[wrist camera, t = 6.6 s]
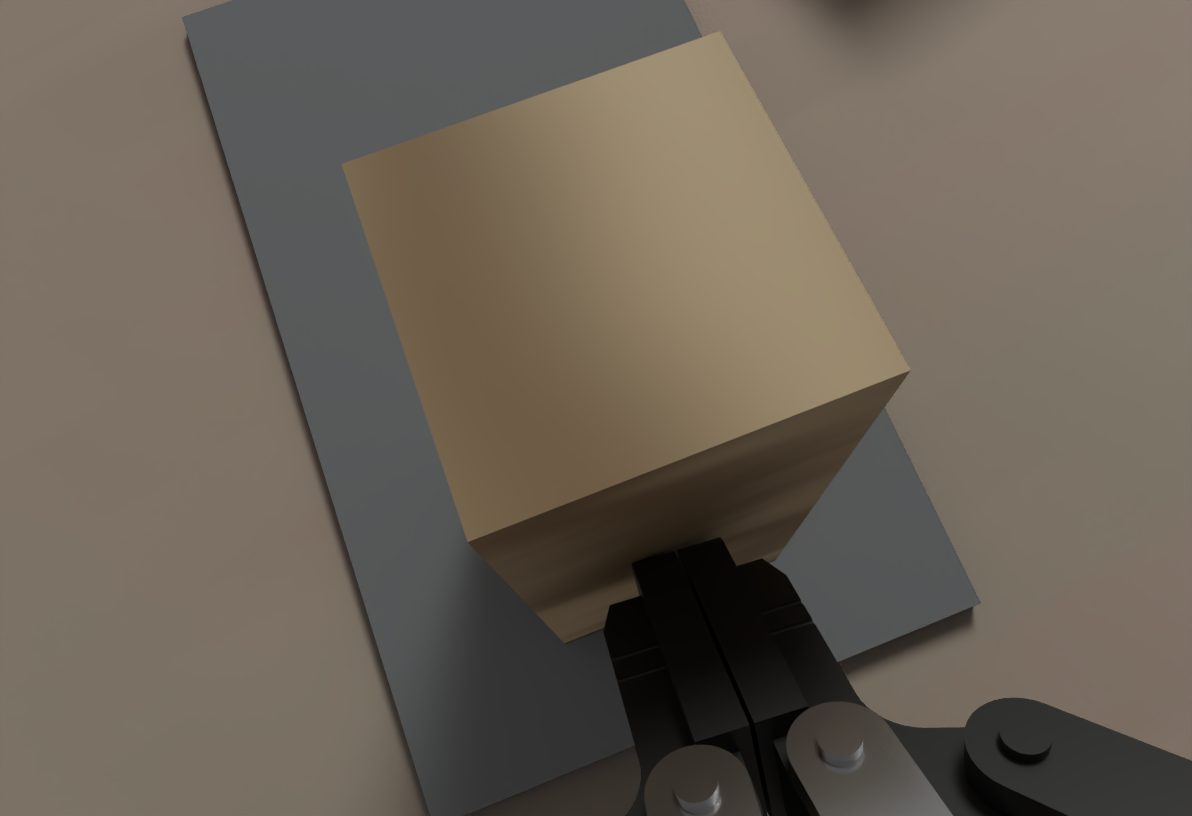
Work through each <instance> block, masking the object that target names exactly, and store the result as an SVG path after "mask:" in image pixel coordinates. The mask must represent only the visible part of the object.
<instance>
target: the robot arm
mask: <svg viewBox="0 0 1192 816" xmlns="http://www.w3.org/2000/svg"><path fill="white" fill-rule="evenodd" d="M677 555H678V557H677ZM677 555H676V553H675V552H674V551H673V552H669V553H666V554H663V555H659V556H656V557H653V558H650V559H646V560H643V561H640V562H636V563H633V564H632V570H633V574H634V578H635V581H636V585H637V589H638V593H639V596H638V597H635V598H631V599H628V600H625V601H621V602H618V603H615V604H612V605H610V606H609V610H608V614H607V618H606V623H605V627H604V631H603V633H604V636H605V640H606V643H607V647H608V651H609V654H610V658H611V661H612V665H613V669H614V672H615V676H616V679H617V683H618V687H619V690H620V694H621V697H622V701H623V705H624V708H625V712H626V715H627V719H628V722H629V726H630V730H631V733H632V737H633V740H634V744H635V748H636V751H637V755H638V758H639V762H640V767H641V784H640V789H639V792H638V795H637V798H636V800H635V802H634V804H633V806H632V807H631V809H630V810H629V812H628V813H627V815H626V816H768V815H769V816H1192V761H1190V760H1188V759H1185V758H1183V757H1180V756H1178V755H1175V754H1172V753H1170V752H1167V751H1165V750H1162V749H1160V748H1157V747H1154V746H1152V745H1149V744H1147V743H1144V742H1142V741H1139V740H1137V739H1134V738H1131V737H1129V736H1126V735H1124V734H1121V733H1119V732H1116V731H1113V730H1111V729H1108V728H1106V727H1103V726H1101V725H1098V724H1095V723H1093V722H1090V721H1088V720H1085V719H1083V718H1080V717H1077V716H1075V715H1072V714H1070V713H1067V712H1065V711H1062V710H1059V709H1057V708H1054V707H1052V706H1049V705H1047V704H1044V703H1041V702H1038V701H1035V700H1029V699H1024V698H1003V699H998V700H994V701H991V702H988V703H986V704H984V705H983V706H981V707H979V708H978V709H977V710H976V711H975V712H973V713H972V715H971V716H970V718H969V719H968V721H967V724H966V726H965V727H962V728H916V727H909V726H904V725H900V724H897V723H893V722H891V721H889V720H886V719H884V718H882V717H881V716H879V715H878V714H877V713H875V712H873V711H872V710H870V709H869V708H868V707H867V706H866V705H865V704H864V703H863V702H862V701H861V700H860V699H859V697H858V696H857V694H856V693H855V691H854V689H853V688H852V686H851V684H850V683H849V681H848V679H847V677H846V676H845V674H844V672H843V671H842V669H841V667H840V666H839V664H838V662H837V660H836V659H835V657H834V655H833V654H832V652H831V650H830V648H829V647H828V645H827V643H826V642H825V640H824V638H823V636H822V635H821V633H820V631H819V630H818V628H817V626H816V624H815V623H813V621H812V618H811V616H810V614H809V613H808V611H807V609H806V607H805V606H804V604H802V602H801V599H800V597H799V595H798V594H797V592H796V590H795V589H794V587H793V585H792V583H791V582H790V580H789V578H788V577H787V575H786V574H784V573H783V572H781V571H780V570H778V569H777V568H775V567H774V566H773V565H771V564H770V563H768V562H767V561H765V560H764V559H762V558H761V559H758V560H755V561H751V562H748V563H745V564H742V565H738V566H736V564H735V562H734V560H733V559H732V557H731V555H730V553H729V551H728V549H727V547H726V545H725V543H724V541H723V540H722V538H721V537H718V538H715V539H711V540H708V541H705V542H701V543H698V544H695V545H692V546H688V547H685V548H682V549H678V550H677ZM767 813H768V815H767Z"/></svg>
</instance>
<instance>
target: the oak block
mask: <svg viewBox="0 0 1192 816" xmlns="http://www.w3.org/2000/svg"><path fill="white" fill-rule="evenodd" d="M342 167H343V170H344V173H345V176H346V179H347V182H348V185H349V188H350V191H351V194H352V197H353V200H354V203H355V206H356V209H357V212H358V215H359V218H360V221H361V224H362V227H363V230H364V233H365V236H366V239H367V242H368V245H369V248H370V251H371V254H372V257H373V260H374V263H375V266H376V269H377V272H378V275H379V278H380V281H381V284H382V287H383V290H384V293H385V296H386V299H387V302H388V305H389V308H390V311H391V314H392V317H393V320H394V323H395V326H396V329H397V332H398V335H399V338H400V341H401V344H402V347H403V350H404V353H405V356H406V359H407V362H408V365H409V368H410V371H411V374H412V377H413V380H414V383H415V386H416V389H417V392H418V395H419V398H420V401H421V404H422V407H423V410H424V413H425V416H426V419H427V422H428V425H429V428H430V431H431V434H432V437H433V440H434V443H435V446H436V449H437V452H438V455H439V458H440V461H441V464H442V467H443V470H444V473H445V476H446V479H447V482H448V485H449V488H450V491H451V494H452V497H453V500H454V503H455V506H456V509H457V512H458V515H459V518H460V521H461V524H462V527H463V530H464V533H465V536H466V539H467V542H468V543H469V544H470V545H471V546H472V547H473V548H474V549H475V550H476V551H477V552H478V553H479V554H480V556H481V557H482V558H483V559H484V560H485V561H486V562H487V563H488V564H489V565H490V566H491V567H492V568H493V569H494V570H495V571H496V572H497V573H498V574H499V575H500V576H501V577H502V579H503V580H504V581H505V582H506V583H507V584H508V585H509V586H510V587H511V588H512V589H513V590H514V591H515V592H516V593H517V594H518V595H519V596H520V597H521V598H522V599H523V600H524V602H525V603H526V604H527V605H528V606H529V607H530V608H531V609H532V610H533V611H534V612H535V613H536V614H537V615H538V616H539V617H540V618H541V619H542V620H543V621H544V622H545V624H546V625H547V626H548V627H549V628H550V629H551V630H552V631H553V632H554V633H555V634H556V635H557V636H558V637H559V638H560V639H561V640H562V641H563V642H564V643H565V644H569V643H571V642H574V641H576V640H579V639H581V638H584V637H586V636H589V635H591V634H594V633H596V632H599V631H601V630H604V627H605V623H606V618H607V614H608V610H609V606H610V605H612V604H615V603H618V602H621V601H625V600H628V599H631V598H635V597H638V596H639V593H638V589H637V585H636V581H635V578H634V574H633V570H632V564H633V563H636V562H640V561H643V560H646V559H650V558H653V557H656V556H659V555H663V554H666V553H669V552H673V551H674V552H675V553H676V555H677V550H678V549H682V548H685V547H688V546H692V545H695V544H698V543H701V542H705V541H708V540H711V539H715V538H718V537H721V538H722V540H723V541H724V543H725V545H726V547H727V549H728V551H729V553H730V555H731V557H732V559H733V560H734V562H735V564H736V566H738V565H742V564H745V563H748V562H751V561H755V560H758V559H761V558H762V559H764V560H765V561H767V562H768V563H771V562H773V561H775V560H776V559H777V558H778V556H779V555H780V553H781V552H782V551H783V549H784V548H785V546H786V545H787V543H788V542H789V541H790V539H791V538H792V536H793V535H794V534H795V532H796V531H797V529H798V528H799V527H800V525H801V524H802V522H803V521H804V520H805V518H806V517H807V515H808V514H809V513H810V511H811V510H812V508H813V507H814V506H815V504H816V503H817V501H818V500H819V498H820V497H821V496H822V494H823V493H824V491H825V490H826V489H827V487H828V486H829V484H830V483H831V482H832V480H833V479H834V477H835V476H836V475H837V473H838V472H839V470H840V469H841V468H842V466H843V465H844V463H845V462H846V461H847V459H848V458H849V456H850V455H851V453H852V452H853V451H854V449H855V448H856V446H857V445H858V444H859V442H860V441H861V439H862V438H863V437H864V435H865V434H866V432H867V431H868V430H869V428H870V427H871V425H872V424H873V423H874V421H875V420H876V418H877V417H878V416H879V414H880V413H881V411H882V410H883V408H884V407H885V406H886V404H887V403H888V401H889V400H890V399H891V397H892V396H893V394H894V393H895V392H896V390H897V389H898V387H899V386H900V385H901V383H902V382H903V380H904V379H905V378H906V376H907V375H908V373H909V372H910V368H909V366H908V364H907V363H906V361H905V359H904V357H903V356H902V354H901V352H900V350H899V348H898V347H897V345H896V343H895V341H894V340H893V338H892V336H891V334H890V332H889V331H888V329H887V327H886V325H885V324H884V322H883V320H882V318H881V316H880V315H879V313H878V311H877V309H876V308H875V306H874V304H873V302H872V300H871V299H870V297H869V295H868V293H867V292H866V290H865V288H864V286H863V284H862V283H861V281H860V279H859V277H858V275H857V274H856V272H855V270H854V268H853V267H852V265H851V263H850V261H849V259H848V258H847V256H846V254H845V252H844V251H843V249H842V247H841V245H840V243H839V242H838V240H837V238H836V236H835V235H834V233H833V231H832V229H831V227H830V226H829V224H828V222H827V220H826V219H825V217H824V215H823V213H822V211H821V210H820V208H819V206H818V204H817V203H816V201H815V199H814V197H813V195H812V194H811V192H810V190H809V188H808V187H807V185H806V183H805V181H804V179H803V178H802V176H801V174H800V172H799V171H798V169H797V167H796V165H795V163H794V162H793V160H792V158H791V156H790V154H789V153H788V151H787V149H786V147H785V146H784V144H783V142H782V140H781V138H780V137H779V135H778V133H777V131H776V130H775V128H774V126H773V124H772V122H771V121H770V119H769V117H768V115H767V114H766V112H765V110H764V108H763V106H762V105H761V103H760V101H759V99H758V98H757V96H756V94H755V92H754V90H753V89H752V87H751V85H750V83H749V82H748V80H747V78H746V76H745V74H744V73H743V71H742V69H741V67H740V66H739V64H738V62H737V60H736V58H735V57H734V55H733V53H732V51H731V50H730V48H729V46H728V44H727V42H726V41H725V39H724V37H723V35H722V33H721V32H720V31H719V32H716V33H713V34H710V35H707V36H704V37H702V38H699V39H696V40H693V41H690V42H687V43H685V44H682V45H679V46H676V47H673V48H670V49H667V50H665V51H662V52H659V53H656V54H653V55H650V56H648V57H645V58H642V59H639V60H636V61H633V62H630V63H628V64H625V65H622V66H619V67H616V68H613V69H611V70H608V71H605V72H602V73H599V74H596V75H593V76H591V77H588V78H585V79H582V80H579V81H576V82H574V83H571V84H568V85H565V86H562V87H559V88H556V89H554V90H551V91H548V92H545V93H542V94H539V95H537V96H534V97H531V98H528V99H525V100H522V101H519V102H517V103H514V104H511V105H508V106H505V107H502V108H500V109H497V110H494V111H491V112H488V113H485V114H482V115H480V116H477V117H474V118H471V119H468V120H465V121H462V122H460V123H457V124H454V125H451V126H448V127H445V128H443V129H440V130H437V131H434V132H431V133H428V134H425V135H423V136H420V137H417V138H414V139H411V140H408V141H406V142H403V143H400V144H397V145H394V146H391V147H388V148H386V149H383V150H380V151H377V152H374V153H371V154H369V155H366V156H363V157H360V158H357V159H354V160H351V161H349V162H346V163H343V164H342ZM677 557H678V555H677Z"/></svg>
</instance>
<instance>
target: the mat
mask: <svg viewBox="0 0 1192 816" xmlns="http://www.w3.org/2000/svg"><path fill="white" fill-rule="evenodd" d="M182 19H183V22H184V25H185V28H186V32H187V35H188V38H189V41H190V44H191V48H192V51H193V54H194V57H195V61H196V64H197V67H198V70H199V73H200V77H201V80H202V83H203V86H204V90H205V93H206V96H207V99H208V102H209V106H210V109H211V112H212V115H213V119H214V122H215V125H216V128H217V131H218V135H219V138H220V141H221V144H222V148H223V151H224V154H225V157H226V160H227V164H228V167H229V170H230V173H231V176H232V180H233V183H234V186H235V189H236V193H237V196H238V199H239V202H240V205H241V209H242V212H243V215H244V218H245V222H246V225H247V228H248V231H249V234H250V238H251V241H252V244H253V247H254V251H255V254H256V257H257V260H258V263H259V267H260V270H261V273H262V276H263V280H264V283H265V286H266V289H267V292H268V296H269V299H270V302H271V305H272V308H273V312H274V315H275V318H276V321H277V325H278V328H279V331H280V334H281V337H282V341H283V344H284V347H285V350H286V354H287V357H288V360H289V363H290V366H291V370H292V373H293V376H294V379H295V383H296V386H297V389H298V392H299V395H300V399H301V402H302V405H303V408H304V412H305V415H306V418H307V421H308V424H309V428H310V431H311V434H312V437H313V441H314V444H315V447H316V450H317V453H318V457H319V460H320V463H321V466H322V469H323V473H324V476H325V479H326V482H327V486H328V489H329V492H330V495H331V498H332V502H333V505H334V508H335V511H336V515H337V518H338V521H339V524H340V527H341V531H342V534H343V537H344V540H345V544H346V547H347V550H348V553H349V556H350V560H351V563H352V566H353V569H354V573H355V576H356V579H357V582H358V585H359V589H360V592H361V595H362V598H363V601H364V605H365V608H366V611H367V614H368V618H369V621H370V624H371V627H372V630H373V634H374V637H375V640H376V643H377V647H378V650H379V653H380V656H381V659H382V663H383V666H384V669H385V672H386V676H387V679H388V682H389V685H390V688H391V692H392V695H393V698H394V701H395V705H396V708H397V711H398V714H399V717H400V721H401V724H402V727H403V730H404V733H405V737H406V740H407V743H408V746H409V750H410V753H411V756H412V759H413V762H414V766H415V769H416V772H417V775H418V779H419V782H420V785H421V788H422V791H423V795H424V798H425V801H426V804H427V808H428V811H429V814H430V816H465V815H468V814H470V813H473V812H475V811H477V810H480V809H482V808H485V807H487V806H490V805H492V804H494V803H497V802H499V801H502V800H504V799H507V798H509V797H511V796H514V795H516V794H519V793H521V792H524V791H526V790H528V789H531V788H533V787H536V786H538V785H541V784H543V783H545V782H548V781H550V780H553V779H555V778H558V777H560V776H562V775H565V774H567V773H570V772H572V771H575V770H577V769H579V768H582V767H584V766H587V765H589V764H592V763H594V762H596V761H599V760H601V759H604V758H606V757H609V756H611V755H613V754H616V753H618V752H621V751H623V750H626V749H628V748H630V747H633V746H635V744H634V740H633V737H632V733H631V730H630V726H629V722H628V719H627V715H626V712H625V708H624V705H623V701H622V697H621V694H620V690H619V687H618V683H617V679H616V676H615V672H614V669H613V665H612V661H611V658H610V654H609V651H608V647H607V643H606V640H605V636H604V633H603V631H604V630H601V631H599V632H596V633H594V634H591V635H589V636H586V637H584V638H581V639H579V640H576V641H574V642H571V643H569V644H565V643H564V642H563V641H562V640H561V639H560V638H559V637H558V636H557V635H556V634H555V633H554V632H553V631H552V630H551V629H550V628H549V627H548V626H547V625H546V624H545V622H544V621H543V620H542V619H541V618H540V617H539V616H538V615H537V614H536V613H535V612H534V611H533V610H532V609H531V608H530V607H529V606H528V605H527V604H526V603H525V602H524V600H523V599H522V598H521V597H520V596H519V595H518V594H517V593H516V592H515V591H514V590H513V589H512V588H511V587H510V586H509V585H508V584H507V583H506V582H505V581H504V580H503V579H502V577H501V576H500V575H499V574H498V573H497V572H496V571H495V570H494V569H493V568H492V567H491V566H490V565H489V564H488V563H487V562H486V561H485V560H484V559H483V558H482V557H481V556H480V554H479V553H478V552H477V551H476V550H475V549H474V548H473V547H472V546H471V545H470V544H469V543H468V542H467V539H466V536H465V533H464V530H463V527H462V524H461V521H460V518H459V515H458V512H457V509H456V506H455V503H454V500H453V497H452V494H451V491H450V488H449V485H448V482H447V479H446V476H445V473H444V470H443V467H442V464H441V461H440V458H439V455H438V452H437V449H436V446H435V443H434V440H433V437H432V434H431V431H430V428H429V425H428V422H427V419H426V416H425V413H424V410H423V407H422V404H421V401H420V398H419V395H418V392H417V389H416V386H415V383H414V380H413V377H412V374H411V371H410V368H409V365H408V362H407V359H406V356H405V353H404V350H403V347H402V344H401V341H400V338H399V335H398V332H397V329H396V326H395V323H394V320H393V317H392V314H391V311H390V308H389V305H388V302H387V299H386V296H385V293H384V290H383V287H382V284H381V281H380V278H379V275H378V272H377V269H376V266H375V263H374V260H373V257H372V254H371V251H370V248H369V245H368V242H367V239H366V236H365V233H364V230H363V227H362V224H361V221H360V218H359V215H358V212H357V209H356V206H355V203H354V200H353V197H352V194H351V191H350V188H349V185H348V182H347V179H346V176H345V173H344V170H343V167H342V164H343V163H346V162H349V161H351V160H354V159H357V158H360V157H363V156H366V155H369V154H371V153H374V152H377V151H380V150H383V149H386V148H388V147H391V146H394V145H397V144H400V143H403V142H406V141H408V140H411V139H414V138H417V137H420V136H423V135H425V134H428V133H431V132H434V131H437V130H440V129H443V128H445V127H448V126H451V125H454V124H457V123H460V122H462V121H465V120H468V119H471V118H474V117H477V116H480V115H482V114H485V113H488V112H491V111H494V110H497V109H500V108H502V107H505V106H508V105H511V104H514V103H517V102H519V101H522V100H525V99H528V98H531V97H534V96H537V95H539V94H542V93H545V92H548V91H551V90H554V89H556V88H559V87H562V86H565V85H568V84H571V83H574V82H576V81H579V80H582V79H585V78H588V77H591V76H593V75H596V74H599V73H602V72H605V71H608V70H611V69H613V68H616V67H619V66H622V65H625V64H628V63H630V62H633V61H636V60H639V59H642V58H645V57H648V56H650V55H653V54H656V53H659V52H662V51H665V50H667V49H670V48H673V47H676V46H679V45H682V44H685V43H687V42H690V41H693V40H696V39H699V38H702V36H701V34H700V32H699V30H698V27H697V25H696V23H695V21H694V19H693V17H692V15H691V13H690V11H689V9H688V7H687V5H686V3H685V1H684V0H232V1H229V2H226V3H223V4H220V5H217V6H214V7H211V8H208V9H205V10H202V11H199V12H196V13H193V14H190V15H187V16H184V17H182ZM770 564H771V565H773V566H774V567H775V568H777V569H778V570H780V571H781V572H783V573H784V574H786V575H787V577H788V578H789V580H790V582H791V583H792V585H793V587H794V589H795V590H796V592H797V594H798V595H799V597H800V599H801V602H802V604H804V606H805V607H806V609H807V611H808V613H809V614H810V616H811V618H812V621H813V623H815V624H816V626H817V628H818V630H819V631H820V633H821V635H822V636H823V638H824V640H825V642H826V643H827V645H828V647H829V648H830V650H831V652H832V654H833V655H834V657H835V659H836V660H837V662H839V661H842V660H844V659H847V658H849V657H851V656H854V655H856V654H859V653H861V652H864V651H866V650H868V649H871V648H873V647H876V646H878V645H881V644H883V643H885V642H888V641H890V640H893V639H895V638H898V637H900V636H902V635H905V634H907V633H910V632H912V631H915V630H917V629H920V628H922V627H924V626H927V625H929V624H932V623H934V622H937V621H939V620H941V619H944V618H946V617H949V616H951V615H954V614H956V613H958V612H961V611H963V610H966V609H968V608H971V607H973V606H975V605H978V604H980V603H981V602H980V600H979V598H978V596H977V594H976V592H975V590H974V588H973V586H972V584H971V582H970V580H969V578H968V576H967V574H966V572H965V570H964V568H963V566H962V564H961V562H960V560H959V558H958V556H957V554H956V552H955V550H954V548H953V546H952V543H951V541H950V539H949V537H948V535H947V533H946V531H945V529H944V527H943V525H942V523H941V521H940V519H939V517H938V515H937V513H936V511H935V509H934V507H933V505H932V503H931V501H930V499H929V497H928V495H927V493H926V491H925V489H924V487H923V485H922V483H921V481H920V478H919V476H918V474H917V472H916V470H915V468H914V466H913V464H912V462H911V460H910V458H909V456H908V454H907V452H906V450H905V448H904V446H903V444H902V442H901V440H900V438H899V436H898V434H897V432H896V430H895V428H894V426H893V424H892V422H891V420H890V418H889V416H888V413H887V411H886V409H885V407H884V408H883V410H882V411H881V413H880V414H879V416H878V417H877V418H876V420H875V421H874V423H873V424H872V425H871V427H870V428H869V430H868V431H867V432H866V434H865V435H864V437H863V438H862V439H861V441H860V442H859V444H858V445H857V446H856V448H855V449H854V451H853V452H852V453H851V455H850V456H849V458H848V459H847V461H846V462H845V463H844V465H843V466H842V468H841V469H840V470H839V472H838V473H837V475H836V476H835V477H834V479H833V480H832V482H831V483H830V484H829V486H828V487H827V489H826V490H825V491H824V493H823V494H822V496H821V497H820V498H819V500H818V501H817V503H816V504H815V506H814V507H813V508H812V510H811V511H810V513H809V514H808V515H807V517H806V518H805V520H804V521H803V522H802V524H801V525H800V527H799V528H798V529H797V531H796V532H795V534H794V535H793V536H792V538H791V539H790V541H789V542H788V543H787V545H786V546H785V548H784V549H783V551H782V552H781V553H780V555H779V556H778V558H777V559H776V560H775V561H773V562H771V563H770Z"/></svg>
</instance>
